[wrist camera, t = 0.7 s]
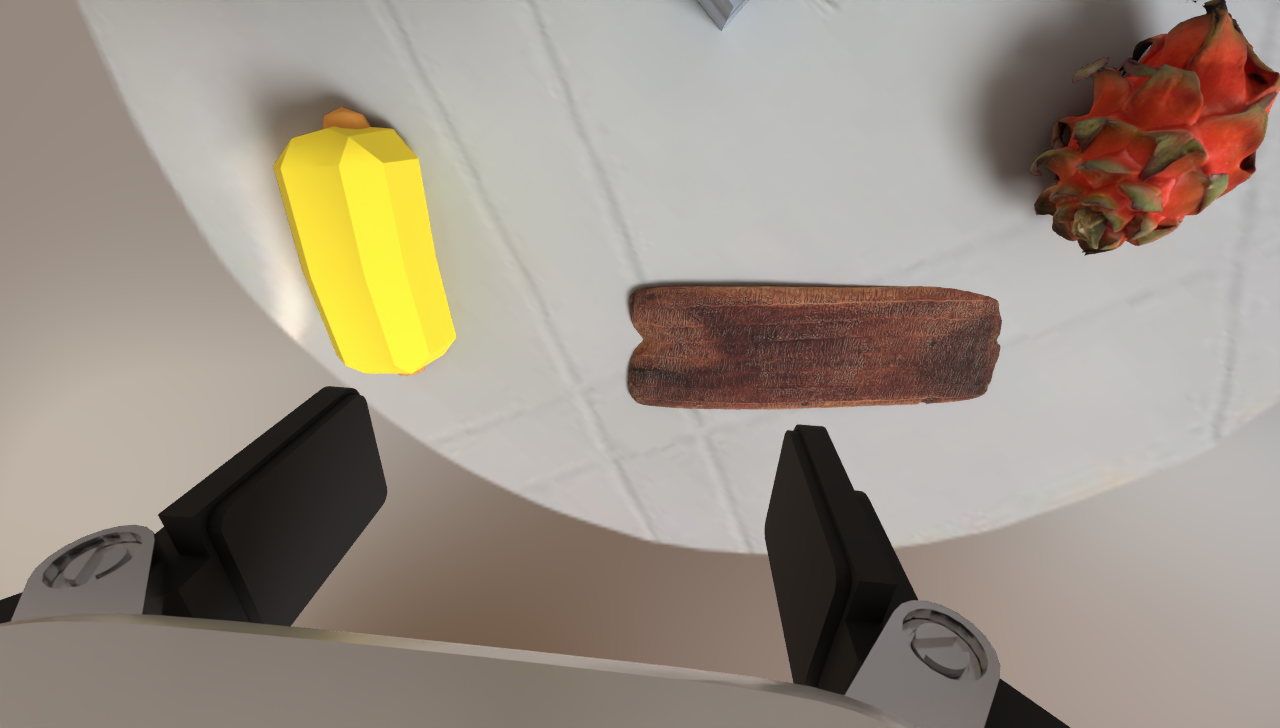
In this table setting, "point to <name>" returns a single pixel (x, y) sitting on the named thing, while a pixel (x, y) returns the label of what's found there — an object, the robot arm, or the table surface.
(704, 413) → the table surface
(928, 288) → the wooden tablet
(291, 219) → the yellow faceted part
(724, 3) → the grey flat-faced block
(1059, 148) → the dragon fruit
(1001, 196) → the table surface
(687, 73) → the table surface
